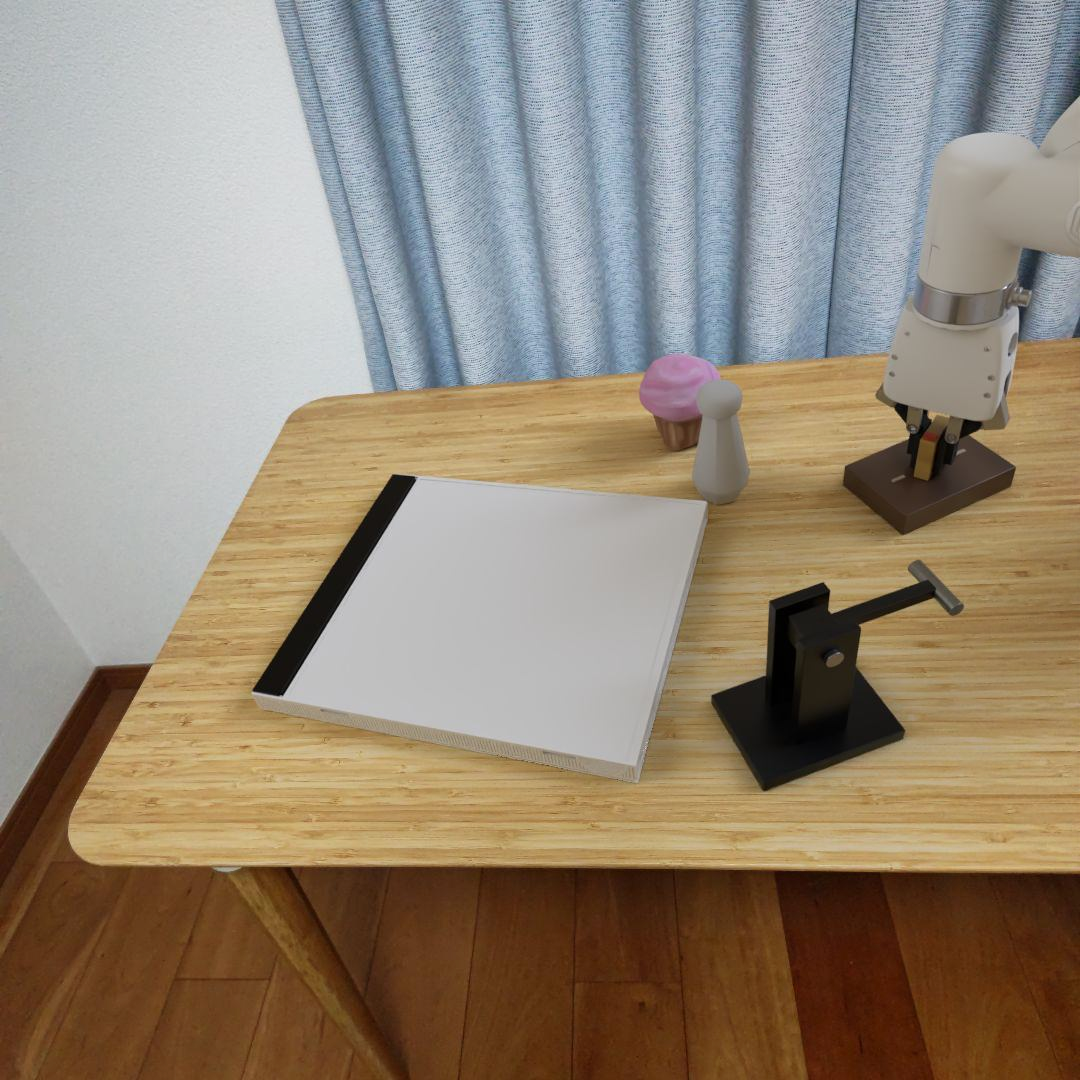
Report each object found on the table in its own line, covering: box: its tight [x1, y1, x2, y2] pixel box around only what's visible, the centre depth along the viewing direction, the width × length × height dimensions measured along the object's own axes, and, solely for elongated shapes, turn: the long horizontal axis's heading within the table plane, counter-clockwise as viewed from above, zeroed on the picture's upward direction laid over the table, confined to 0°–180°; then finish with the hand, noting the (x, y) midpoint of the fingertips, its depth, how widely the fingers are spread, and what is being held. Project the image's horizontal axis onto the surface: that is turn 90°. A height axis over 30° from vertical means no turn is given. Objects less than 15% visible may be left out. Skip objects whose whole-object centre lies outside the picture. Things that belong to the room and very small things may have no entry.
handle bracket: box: [710, 581, 906, 792], centre depth 68 cm, size 12×9×13 cm
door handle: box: [787, 559, 965, 650], centre depth 65 cm, size 12×5×2 cm, turn 108°
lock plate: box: [842, 434, 1017, 536], centre depth 89 cm, size 13×9×3 cm
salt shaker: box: [691, 378, 751, 506], centre depth 89 cm, size 6×6×13 cm
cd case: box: [251, 473, 709, 784], centre depth 85 cm, size 35×2×31 cm
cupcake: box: [638, 352, 722, 451], centre depth 98 cm, size 9×9×10 cm
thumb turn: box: [914, 414, 950, 481], centre depth 87 cm, size 4×1×5 cm, turn 144°
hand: (929, 462), depth 88 cm, fingers closed
